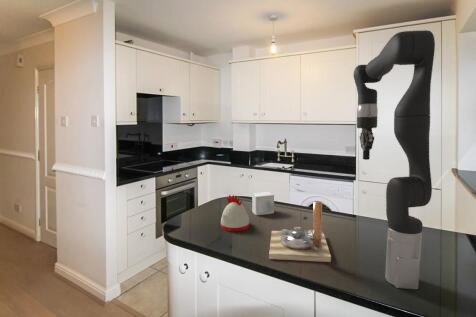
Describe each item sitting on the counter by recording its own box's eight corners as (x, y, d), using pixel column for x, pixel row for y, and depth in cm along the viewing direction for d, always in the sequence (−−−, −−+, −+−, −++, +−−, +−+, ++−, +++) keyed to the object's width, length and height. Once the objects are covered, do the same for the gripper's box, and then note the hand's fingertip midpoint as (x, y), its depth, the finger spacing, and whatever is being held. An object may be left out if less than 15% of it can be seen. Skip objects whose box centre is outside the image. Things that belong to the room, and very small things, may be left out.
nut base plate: (330, 262, 108) (331, 256, 108) (269, 258, 111) (269, 253, 111) (323, 237, 129) (323, 232, 129) (271, 235, 133) (271, 230, 133)
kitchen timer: (230, 219, 155) (229, 190, 153) (254, 223, 148) (254, 193, 146) (215, 228, 143) (213, 197, 141) (240, 233, 136) (239, 201, 134)
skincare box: (256, 215, 159) (255, 196, 157) (252, 212, 165) (251, 193, 163) (274, 213, 162) (274, 194, 160) (269, 209, 168) (269, 191, 166)
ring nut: (273, 238, 124) (273, 192, 121) (303, 232, 129) (303, 188, 126) (302, 260, 105) (302, 206, 102) (335, 252, 110) (337, 200, 107)
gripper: (353, 117, 127) (352, 158, 129) (361, 115, 114) (360, 161, 116) (372, 116, 126) (371, 157, 128) (382, 115, 113) (381, 161, 115)
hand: (366, 159), depth 122 cm, fingers closed
